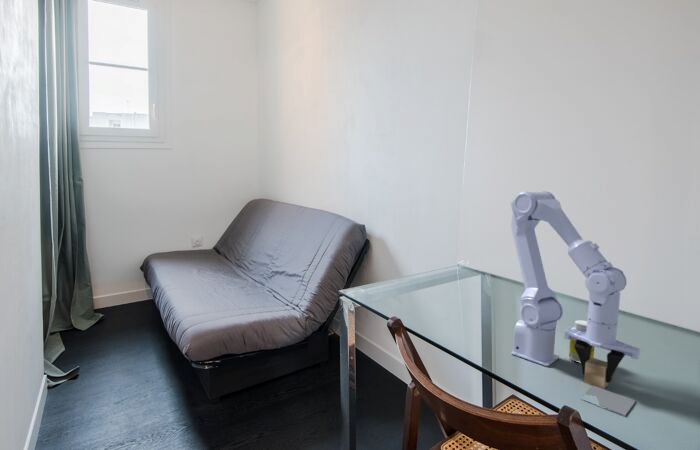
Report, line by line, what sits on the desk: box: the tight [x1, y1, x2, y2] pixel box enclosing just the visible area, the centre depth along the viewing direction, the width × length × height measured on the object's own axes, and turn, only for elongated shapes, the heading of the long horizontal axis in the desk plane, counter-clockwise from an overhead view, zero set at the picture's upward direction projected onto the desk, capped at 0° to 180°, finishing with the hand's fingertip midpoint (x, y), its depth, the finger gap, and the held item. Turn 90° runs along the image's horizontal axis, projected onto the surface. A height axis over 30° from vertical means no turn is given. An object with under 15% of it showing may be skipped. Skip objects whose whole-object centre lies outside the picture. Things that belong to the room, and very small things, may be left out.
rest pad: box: [584, 385, 637, 417], centre depth 82 cm, size 8×8×1 cm
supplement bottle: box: [568, 319, 595, 362], centre depth 100 cm, size 6×6×10 cm
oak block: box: [583, 357, 610, 390], centre depth 89 cm, size 4×4×5 cm
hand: (596, 377), depth 89 cm, fingers open, 4 cm apart
